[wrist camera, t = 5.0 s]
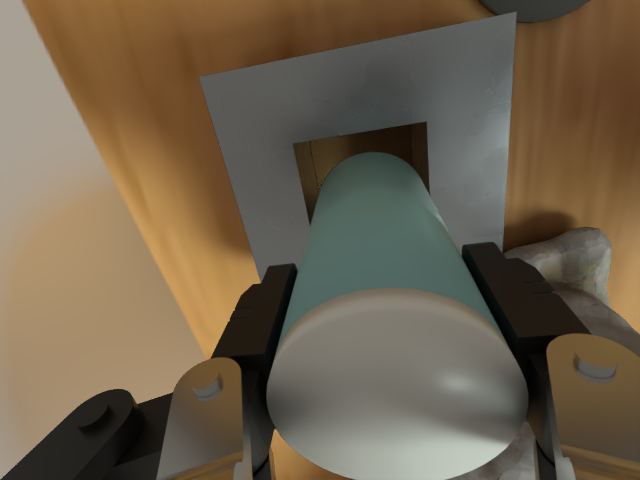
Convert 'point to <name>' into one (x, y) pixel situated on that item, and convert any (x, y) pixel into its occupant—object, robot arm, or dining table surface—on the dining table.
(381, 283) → the teal canister
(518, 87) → the dining table surface
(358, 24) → the dining table surface
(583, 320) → the sculpture
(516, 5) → the coaster
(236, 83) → the housing
